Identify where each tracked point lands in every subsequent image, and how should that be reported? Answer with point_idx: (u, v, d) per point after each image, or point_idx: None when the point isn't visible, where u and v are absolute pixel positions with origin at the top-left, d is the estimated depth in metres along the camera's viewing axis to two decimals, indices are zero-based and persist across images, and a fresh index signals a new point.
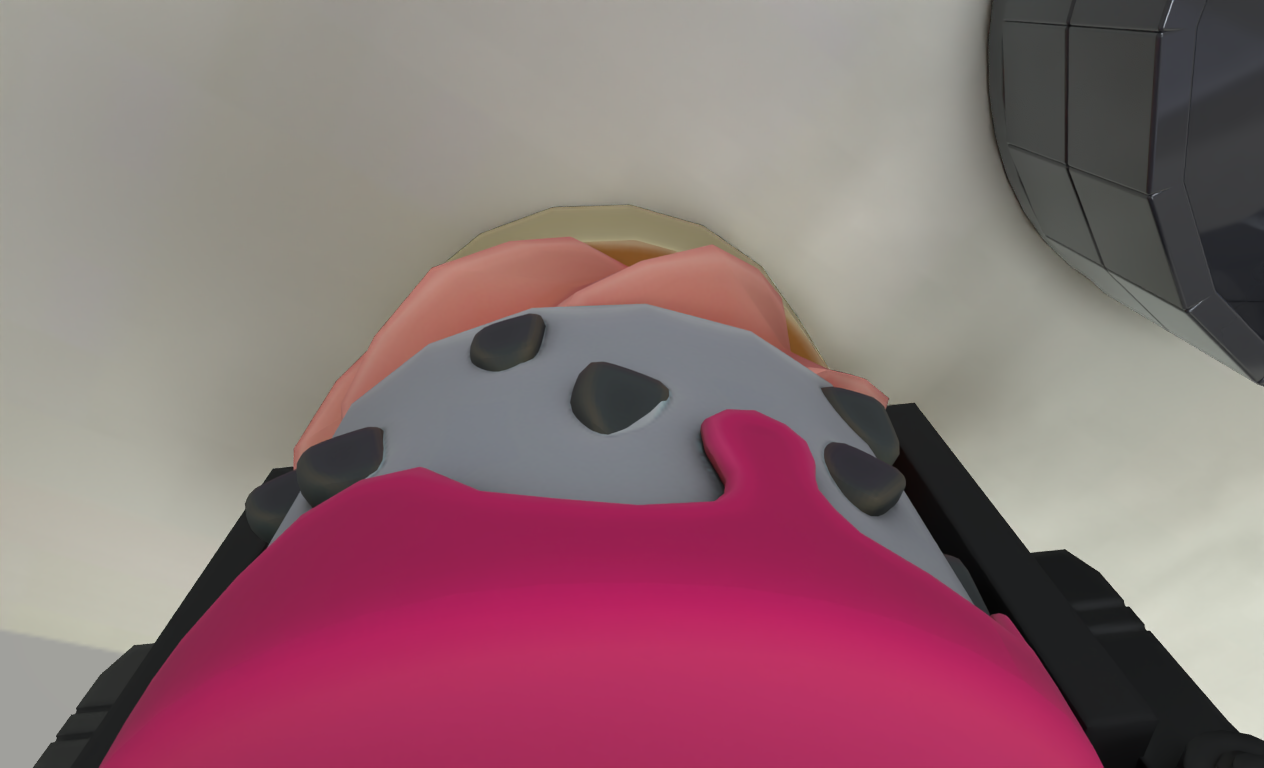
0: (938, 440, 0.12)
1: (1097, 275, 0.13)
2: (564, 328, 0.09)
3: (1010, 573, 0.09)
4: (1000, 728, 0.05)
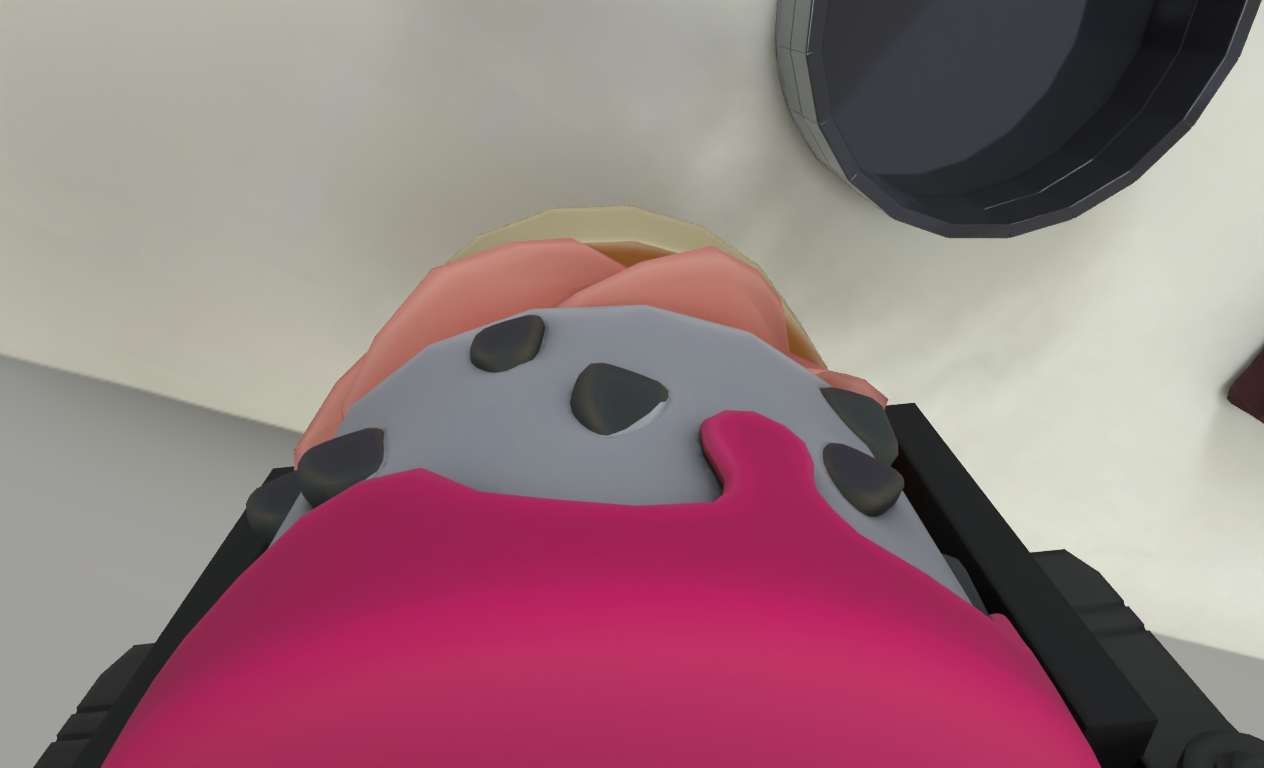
0: (938, 440, 0.12)
1: (840, 176, 0.26)
2: (564, 329, 0.09)
3: (1010, 573, 0.09)
4: (996, 727, 0.05)
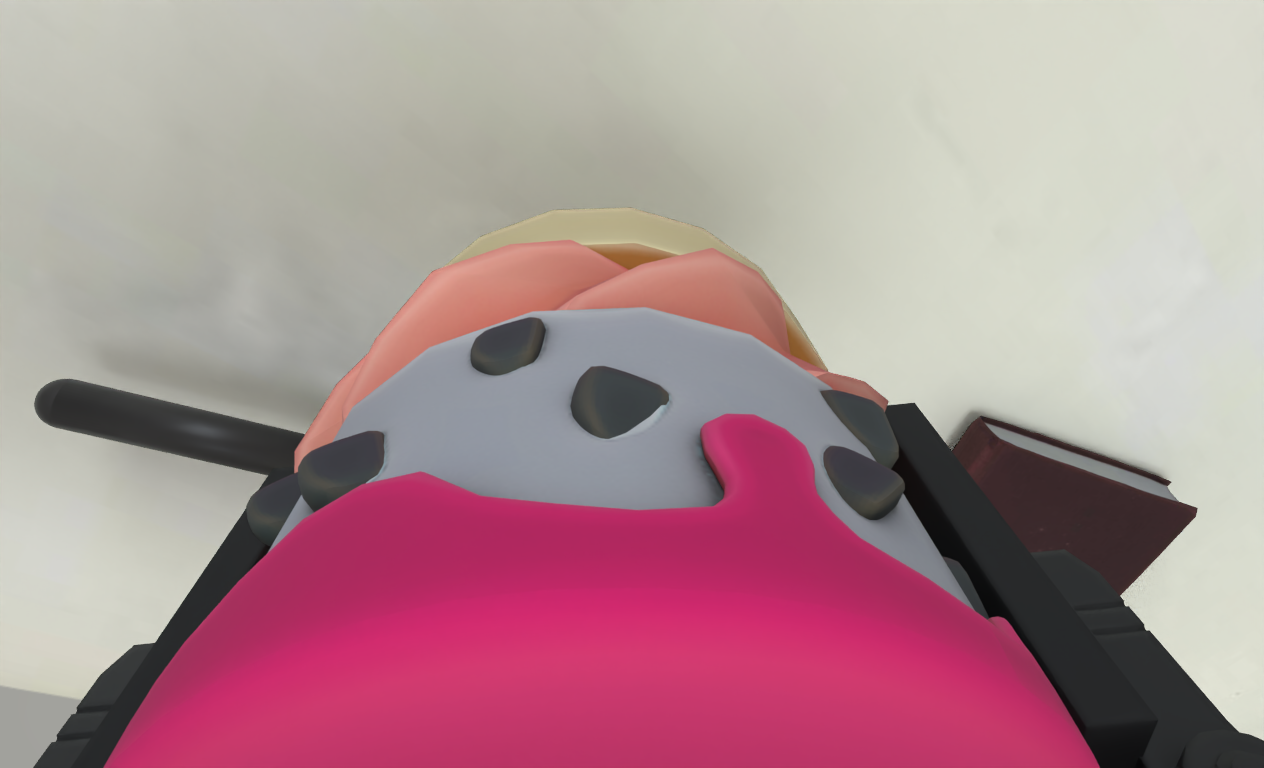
0: (938, 440, 0.12)
1: None
2: (564, 332, 0.09)
3: (1010, 573, 0.09)
4: (996, 733, 0.05)
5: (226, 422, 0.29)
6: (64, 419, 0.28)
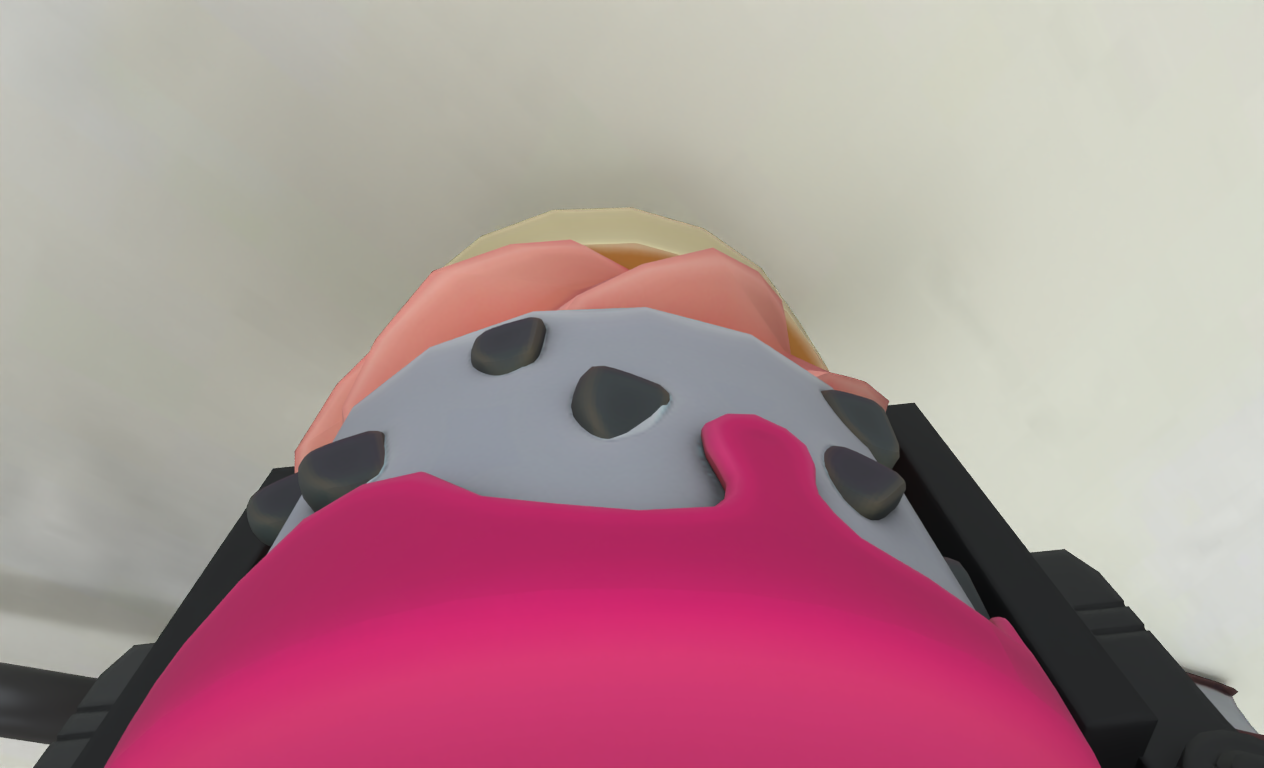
0: (937, 440, 0.12)
1: None
2: (565, 332, 0.09)
3: (1010, 573, 0.09)
4: (998, 734, 0.05)
5: (12, 684, 0.22)
6: None
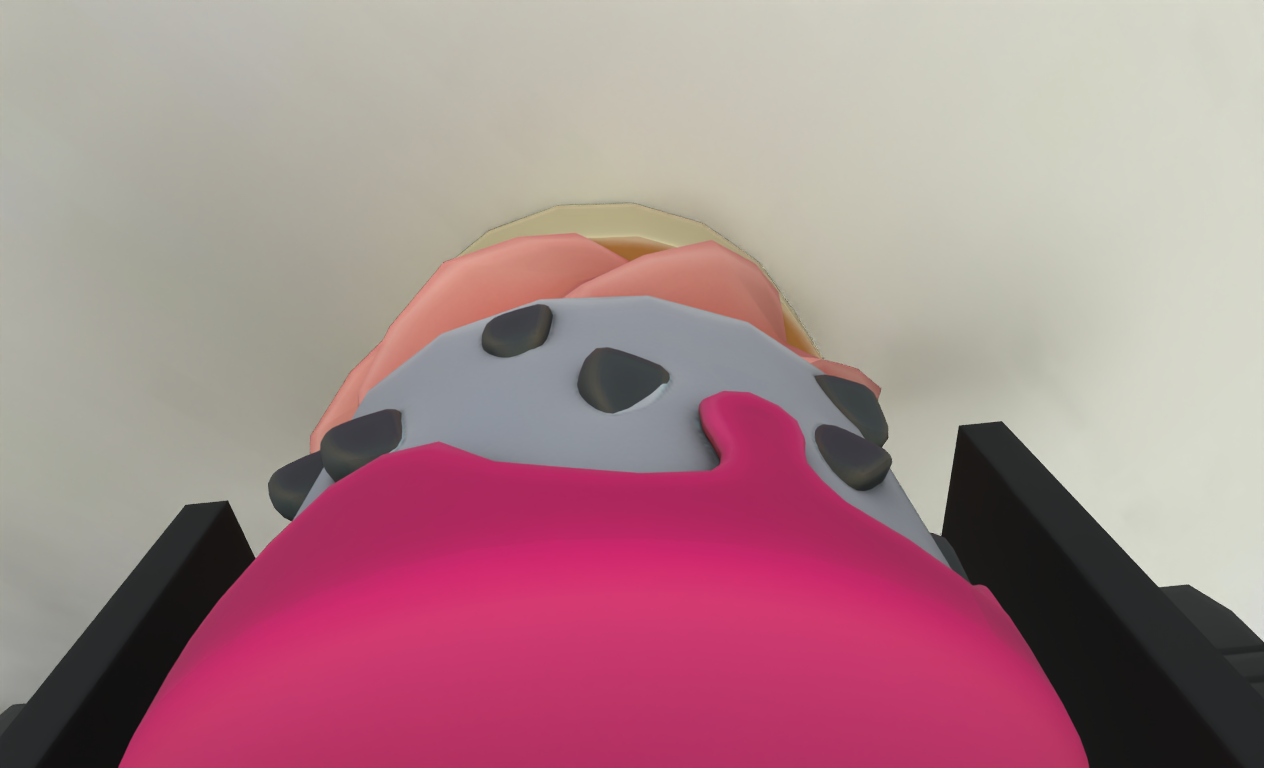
0: (1034, 462, 0.11)
1: None
2: (570, 318, 0.09)
3: (1145, 615, 0.09)
4: (970, 676, 0.06)
5: None
6: None
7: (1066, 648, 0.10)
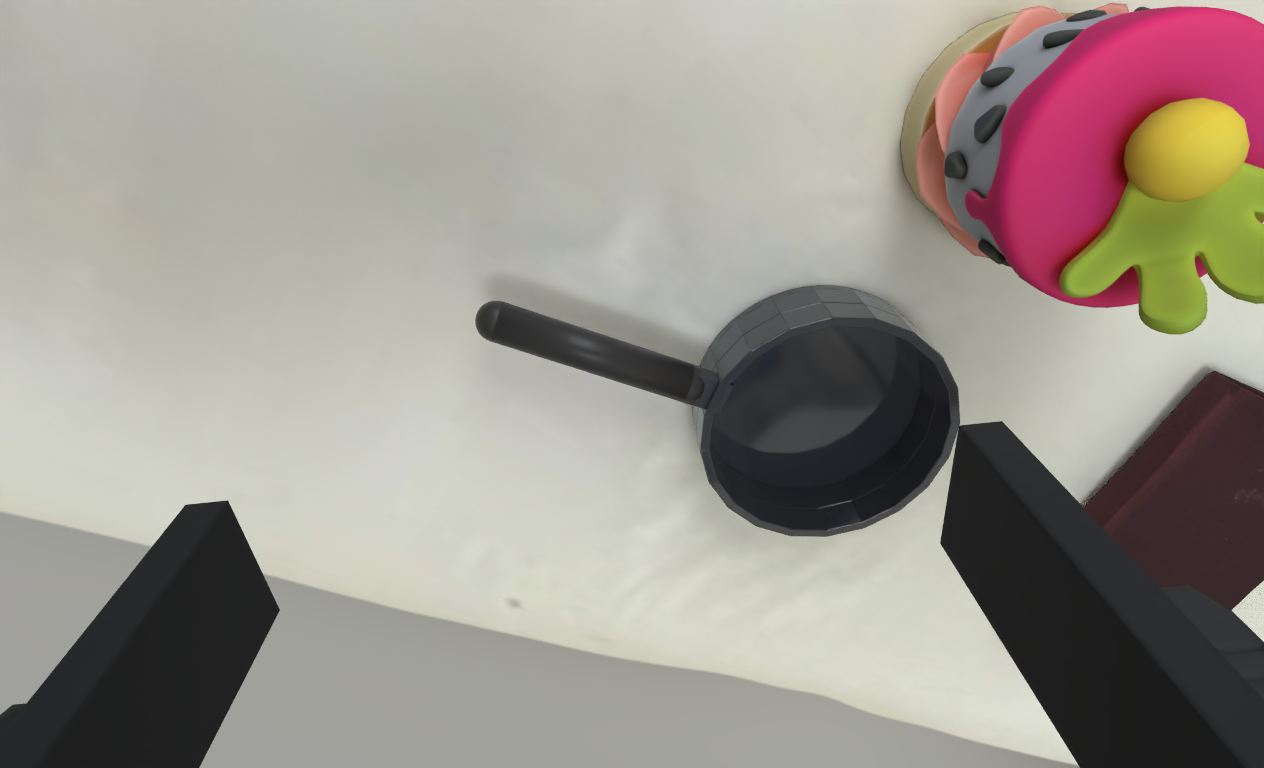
0: (1034, 463, 0.11)
1: None
2: None
3: (1146, 615, 0.09)
4: None
5: (620, 343, 0.35)
6: (502, 333, 0.33)
7: (1066, 648, 0.10)
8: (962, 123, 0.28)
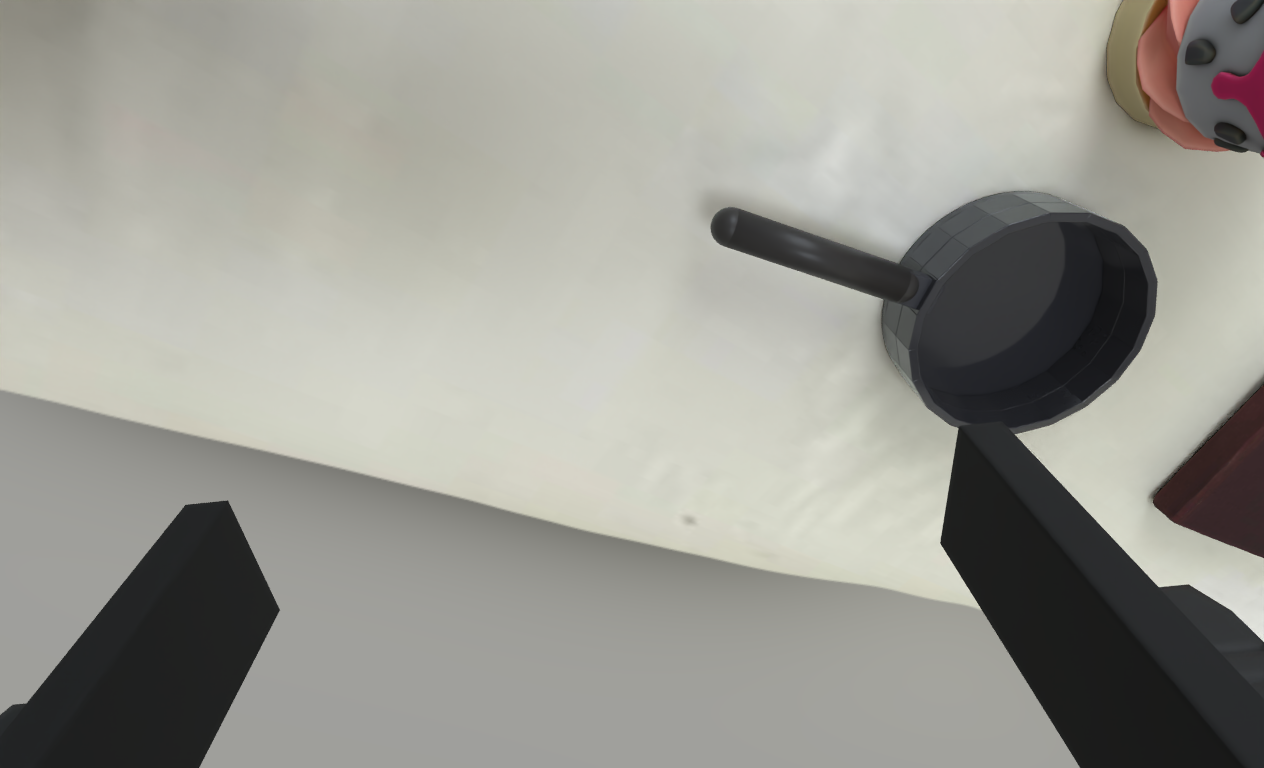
0: (1034, 462, 0.11)
1: None
2: None
3: (1145, 615, 0.09)
4: None
5: (843, 245, 0.37)
6: (740, 236, 0.36)
7: (1066, 648, 0.10)
8: (1206, 11, 0.30)
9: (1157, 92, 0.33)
